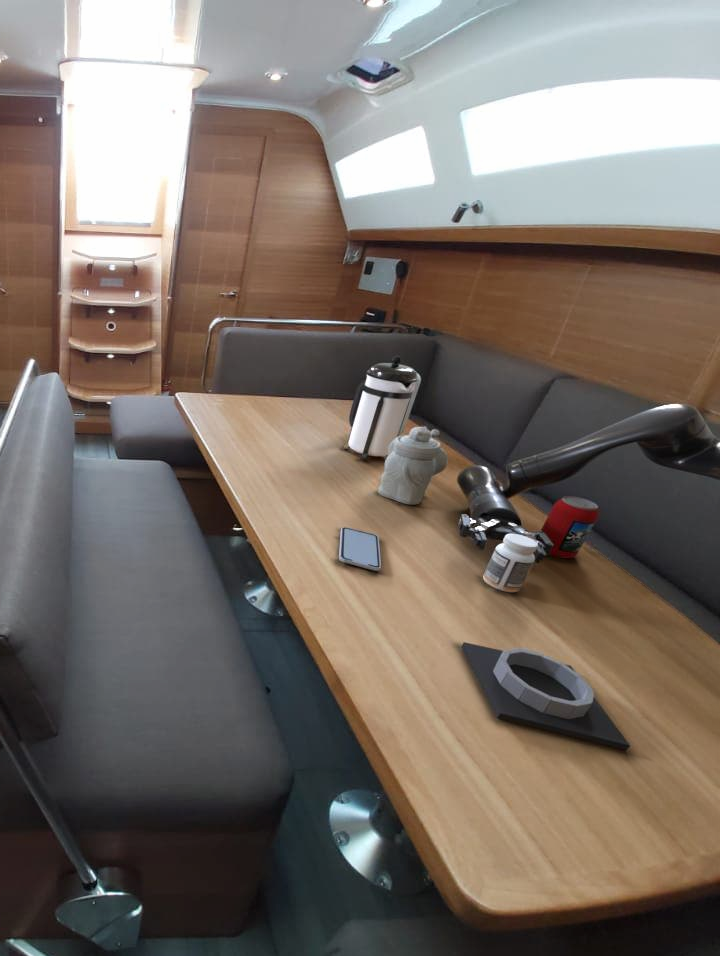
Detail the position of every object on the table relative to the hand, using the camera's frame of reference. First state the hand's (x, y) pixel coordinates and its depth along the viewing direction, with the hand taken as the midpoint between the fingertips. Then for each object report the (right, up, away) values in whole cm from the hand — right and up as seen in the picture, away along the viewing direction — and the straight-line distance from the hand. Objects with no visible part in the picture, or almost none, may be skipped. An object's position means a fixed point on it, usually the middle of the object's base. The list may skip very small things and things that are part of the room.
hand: (510, 551), depth 94 cm
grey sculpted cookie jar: (+3, +10, +36) cm, 37 cm away
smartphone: (-23, -1, +10) cm, 25 cm away
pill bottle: (-1, -6, +1) cm, 7 cm away
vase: (+22, +29, +76) cm, 84 cm away
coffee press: (+7, +22, +60) cm, 64 cm away
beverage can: (+19, -2, +12) cm, 23 cm away
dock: (-16, -17, -23) cm, 33 cm away
